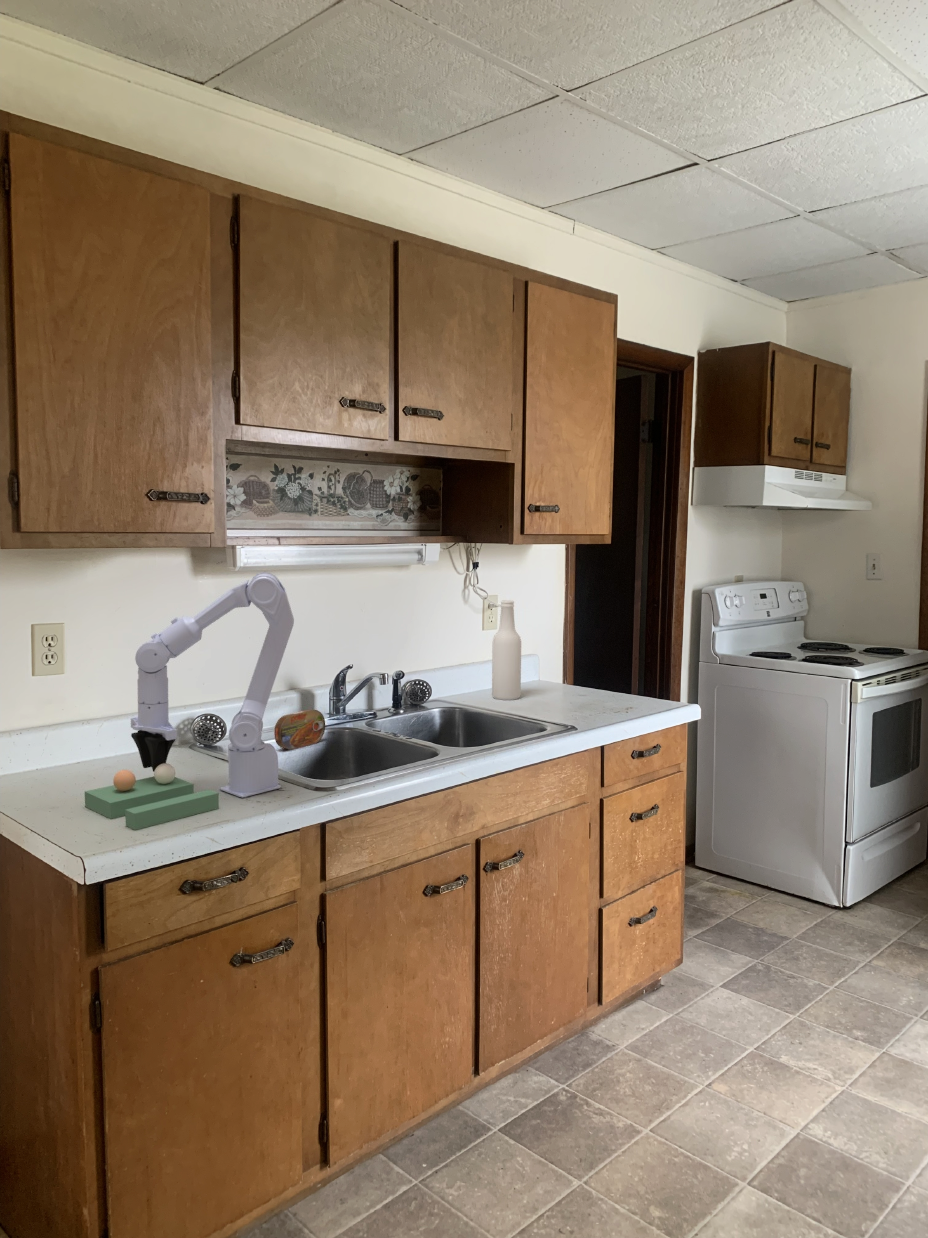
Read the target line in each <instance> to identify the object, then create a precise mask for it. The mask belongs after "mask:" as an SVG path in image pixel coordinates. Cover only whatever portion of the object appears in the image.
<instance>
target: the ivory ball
mask: <svg viewBox="0 0 928 1238" xmlns="http://www.w3.org/2000/svg"><path fill="white" fill-rule="evenodd" d="M153 775H154V776H153V777H155V779H156V781H157V782H159V783H161V784H168V783H170V782H171V781H172V780H173V779H174V778H175V777H176V775H177V773H176V769H175V767H174V766H173V765H172V764H170V763H167V762H166V763H163V764H160V765H159V766H157V768H156V769H155V771H154V772H153Z"/></svg>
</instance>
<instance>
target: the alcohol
mask: <svg viewBox="0 0 928 1238" xmlns="http://www.w3.org/2000/svg"><path fill="white" fill-rule="evenodd" d="M514 604H515V602H514V600H511V599H509V600H507V599H505V600H501V601H500V608H501V609H500V620H499V628H498V630H497V632H496V633H495V635H494V636H493V638H492V651H491V653H492V655H491V657H492V659H491V660H492V663H491V669H492V670H491V675H492V676H491V695H492V697H493V698H494V700H499V701H514V700H516V701H517V700H519V699H520V696H521V688H522V686H521V684H522V680H521V678H522V640H521V636H520V635H519V634H518V632H517V630H516V625H515V610H514V607H515V605H514Z"/></svg>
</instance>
